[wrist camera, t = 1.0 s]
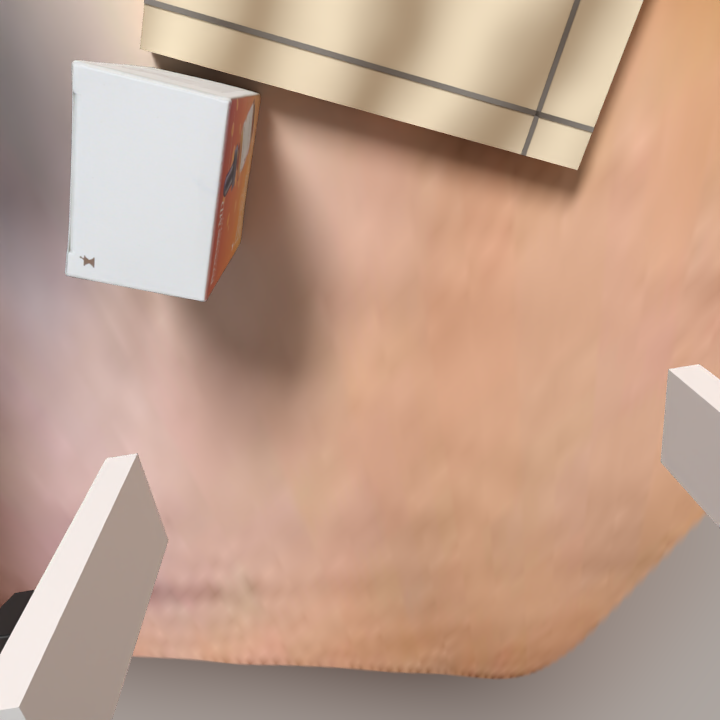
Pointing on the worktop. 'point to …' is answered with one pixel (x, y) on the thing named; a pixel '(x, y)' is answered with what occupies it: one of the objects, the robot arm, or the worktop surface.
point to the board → (420, 60)
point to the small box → (157, 177)
